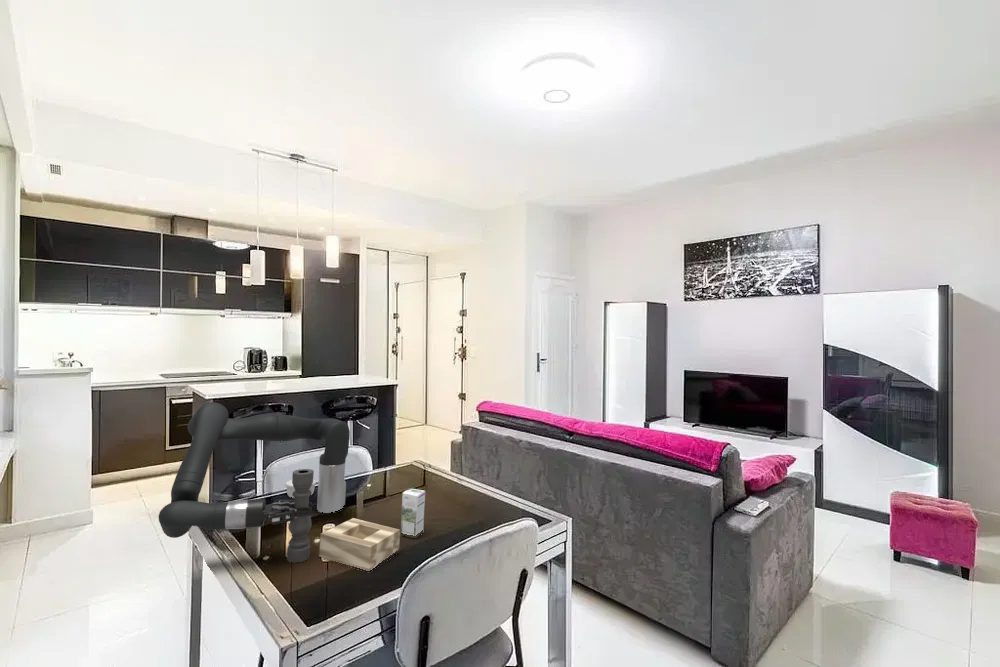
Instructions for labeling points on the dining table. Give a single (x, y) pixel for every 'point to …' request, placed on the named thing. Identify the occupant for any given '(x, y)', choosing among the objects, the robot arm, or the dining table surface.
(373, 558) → the socket block
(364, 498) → the dining table surface
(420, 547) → the dining table surface
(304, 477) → the candle holder
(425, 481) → the dining table surface
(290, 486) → the ramekin
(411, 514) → the syrup box
